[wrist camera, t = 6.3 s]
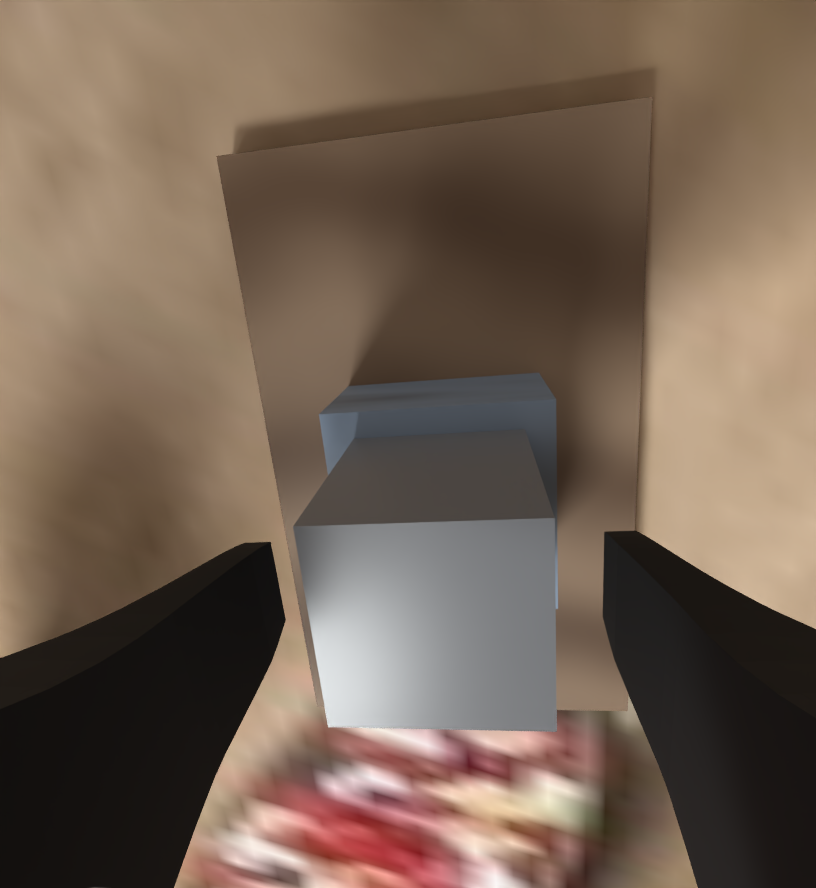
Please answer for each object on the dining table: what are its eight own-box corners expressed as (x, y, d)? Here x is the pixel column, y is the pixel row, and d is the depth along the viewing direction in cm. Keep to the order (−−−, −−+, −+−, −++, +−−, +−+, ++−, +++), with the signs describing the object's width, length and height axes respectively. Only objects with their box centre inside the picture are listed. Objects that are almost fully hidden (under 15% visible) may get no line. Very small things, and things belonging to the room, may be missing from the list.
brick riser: (620, 690, 21) (659, 799, 16) (323, 688, 22) (289, 786, 18) (640, 107, 15) (709, 41, 10) (231, 162, 16) (146, 125, 12)
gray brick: (529, 581, 15) (556, 731, 10) (372, 584, 15) (328, 727, 10) (525, 429, 13) (554, 517, 9) (353, 438, 14) (293, 526, 9)
